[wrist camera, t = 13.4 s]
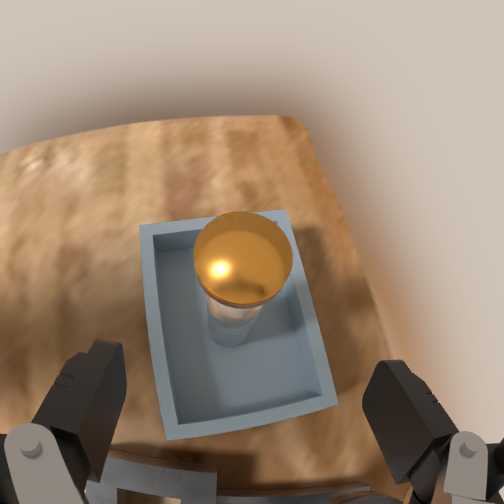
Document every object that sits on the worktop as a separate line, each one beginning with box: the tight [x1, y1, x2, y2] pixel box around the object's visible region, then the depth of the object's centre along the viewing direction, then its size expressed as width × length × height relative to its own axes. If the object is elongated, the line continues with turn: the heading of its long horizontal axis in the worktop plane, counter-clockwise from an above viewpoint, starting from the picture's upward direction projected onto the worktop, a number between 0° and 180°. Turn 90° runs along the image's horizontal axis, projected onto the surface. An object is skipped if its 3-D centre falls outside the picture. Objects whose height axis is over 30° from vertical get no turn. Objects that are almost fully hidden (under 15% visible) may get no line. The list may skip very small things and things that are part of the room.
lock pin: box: [194, 212, 293, 347], centre depth 18 cm, size 4×4×13 cm
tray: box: [140, 210, 338, 441], centre depth 23 cm, size 16×12×4 cm
